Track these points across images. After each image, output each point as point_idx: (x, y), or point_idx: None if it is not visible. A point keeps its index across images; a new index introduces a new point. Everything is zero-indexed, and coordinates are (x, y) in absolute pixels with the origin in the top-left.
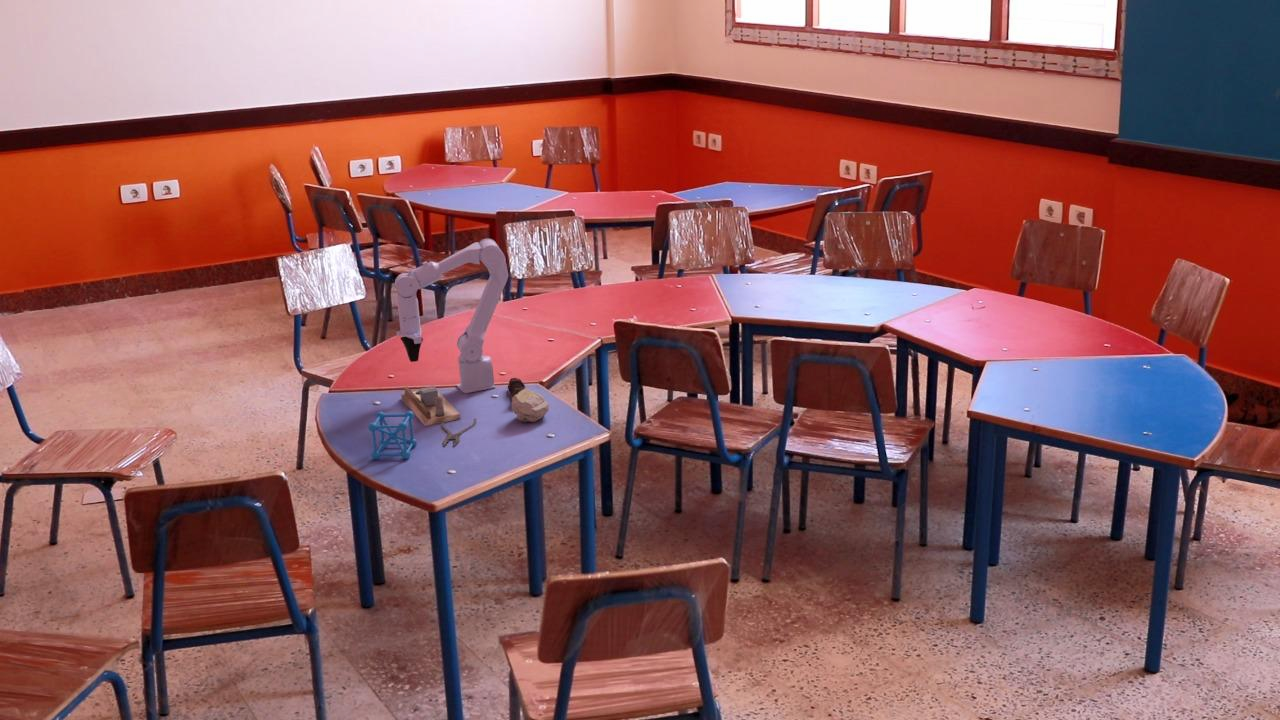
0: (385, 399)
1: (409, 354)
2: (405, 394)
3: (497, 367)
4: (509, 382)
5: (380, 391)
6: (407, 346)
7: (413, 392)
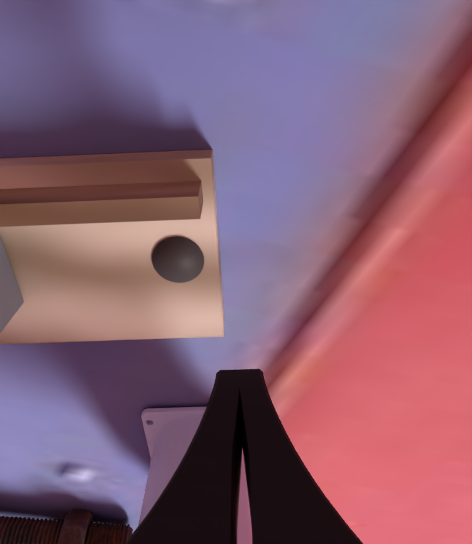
0: (258, 46)
1: (198, 431)
2: (189, 181)
3: (369, 527)
4: (117, 541)
5: (435, 49)
6: (129, 541)
7: (204, 230)
